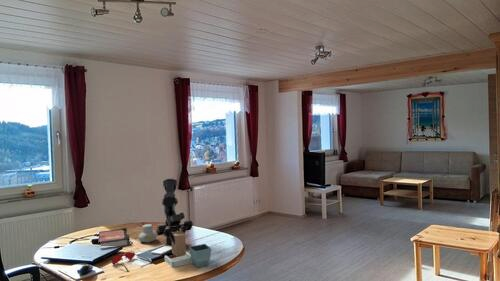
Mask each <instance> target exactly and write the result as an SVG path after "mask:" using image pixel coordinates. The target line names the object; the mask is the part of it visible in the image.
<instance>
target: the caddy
mask: <svg viewBox="0 0 500 281" xmlns="http://www.w3.org/2000/svg"><path fill="white" fill-rule="evenodd" d="M172 235H173V238H174V241H175V243H173V242H172V245H171V254H172V255H174V256H175V258H176V257H181V256H184V255H186V252H187V249H186V248H187V247H186V246H187V245H186V232H185V233H183V232H182V231H181V230H180V231H175V232H172Z"/></svg>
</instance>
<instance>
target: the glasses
mask: <svg viewBox="0 0 500 281" xmlns="http://www.w3.org/2000/svg"><path fill="white" fill-rule="evenodd" d="M123 255H124V258H125V259H128V260H129V261H131V260H133V258H134V257H135V256H137V257H140V258H143V259H146V260H147V261H148V262H149V264H150V265H153V263H152V261H150V259H149V258H147V257H145V256H142V255H139V254H136V253H135V251H133V250H131V251H126V252H124V253H121V254H119V253H118V254H117V255H114V256H112V258H111V260H110V262H111V264H112V265H113V266H115V265H119V266H122V267H124V268H125V269H126V272H127V273H129V272H130V271H129V269H128V267H127V266H126V265H124V264H121V263H119V262H120V261H123V259H124V258H123Z"/></svg>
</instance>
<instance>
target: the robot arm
mask: <svg viewBox="0 0 500 281" xmlns="http://www.w3.org/2000/svg"><path fill="white" fill-rule="evenodd" d="M162 186H163V188H164V192H165V194H164V195H163V198H162V201H161V203H162V206H163V212H164V215H165V219H166V220H165V221H164V222H165V224H161V225H157V229H156V231H155V233H156V234H157V237H158V236H164V237H165V238H166V239H165V240H166V243H165V246H172V242H173V243H175V241H174V238H173V235H172V232H175V231H182V232H183V233H185V234H186V232H187V231H191V230H192V228H193V225H194V222H193V221H192V220H185V221H184V223H183V224H181V223H182V222H181V221H183V219H185V214H184V212H180V213H179V214H177V213H176V212H177V211H176V205H177V204H178V203H179V200H178V199H177V197H176V194H175V193H176V191H177V187H178V179H174V178H166V179H165V180H163V181H162Z"/></svg>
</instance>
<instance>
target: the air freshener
mask: <svg viewBox="0 0 500 281" xmlns="http://www.w3.org/2000/svg"><path fill="white" fill-rule="evenodd" d="M157 237H158V235H157V233H156V231H154V230H153V225H152V224H149V223H148V224H147V223H146V224H144V225H142V232H141V233H140V234H139V235H138V239H139V241H140V242H141V243H146V244H147V243H152V242H154V241H155V240H157Z"/></svg>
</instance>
